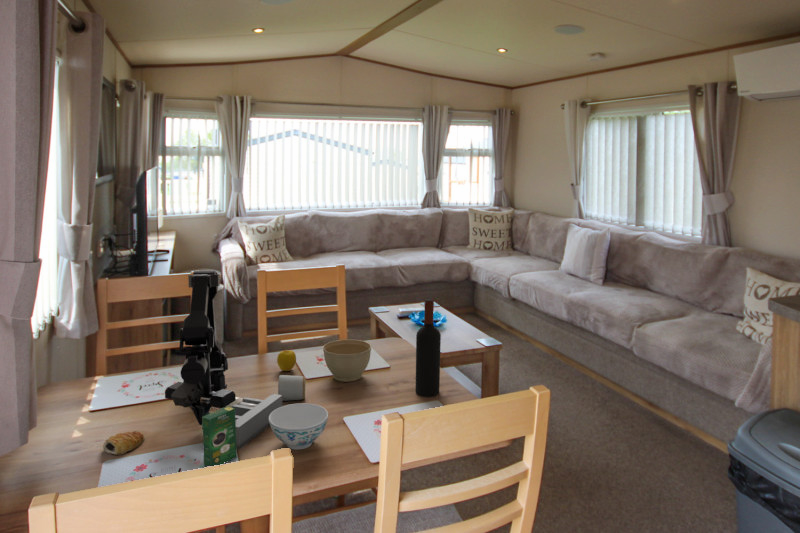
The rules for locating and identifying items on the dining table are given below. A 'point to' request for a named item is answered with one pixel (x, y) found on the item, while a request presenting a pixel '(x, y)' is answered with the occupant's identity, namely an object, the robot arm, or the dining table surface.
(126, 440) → the pastry
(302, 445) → the chinaware
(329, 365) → the planter bowl
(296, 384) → the ceramic mug
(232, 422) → the coffee box
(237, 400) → the knob
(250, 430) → the mount
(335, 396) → the dining table surface
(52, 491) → the dining table surface
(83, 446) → the dining table surface
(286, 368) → the apple
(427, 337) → the wine bottle
